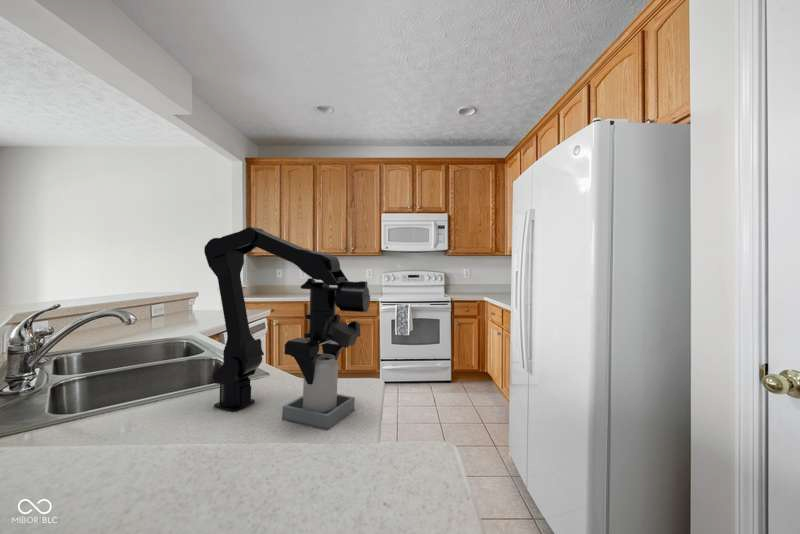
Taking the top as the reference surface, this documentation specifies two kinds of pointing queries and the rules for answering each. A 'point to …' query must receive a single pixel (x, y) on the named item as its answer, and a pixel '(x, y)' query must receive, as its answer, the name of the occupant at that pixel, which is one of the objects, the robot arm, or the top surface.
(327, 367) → the can
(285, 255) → the robot arm
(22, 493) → the top surface
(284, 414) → the bin
